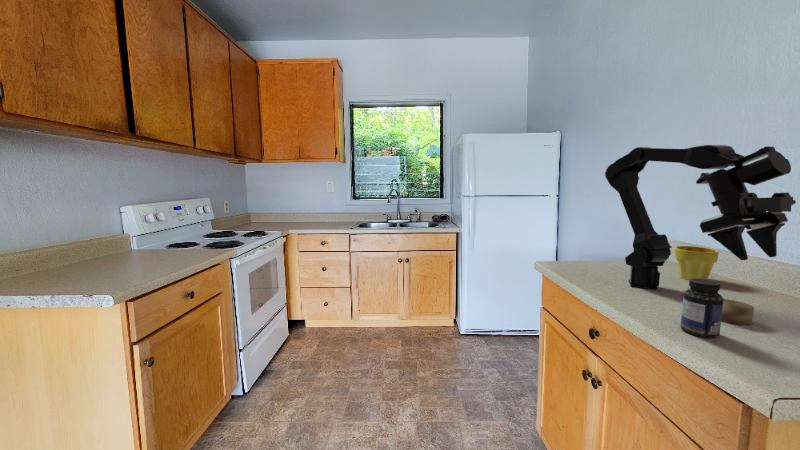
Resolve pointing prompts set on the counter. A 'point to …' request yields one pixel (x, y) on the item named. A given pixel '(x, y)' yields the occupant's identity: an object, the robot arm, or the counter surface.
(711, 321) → the pill bottle
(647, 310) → the counter surface
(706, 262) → the plant pot
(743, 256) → the robot arm
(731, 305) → the stand
